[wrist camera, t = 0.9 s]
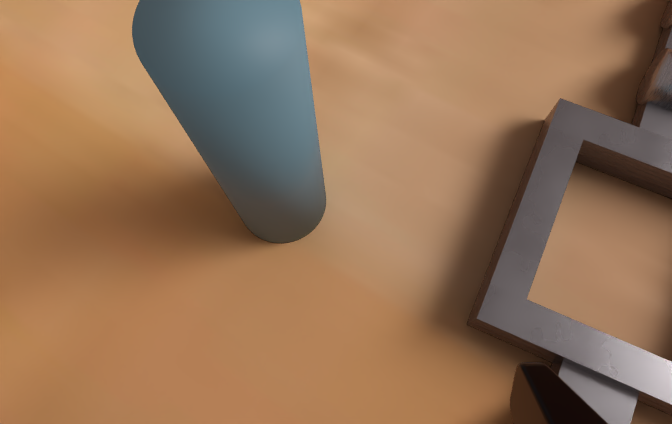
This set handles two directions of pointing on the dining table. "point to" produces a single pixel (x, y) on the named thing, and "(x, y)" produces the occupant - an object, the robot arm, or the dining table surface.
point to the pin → (242, 102)
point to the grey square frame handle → (534, 229)
